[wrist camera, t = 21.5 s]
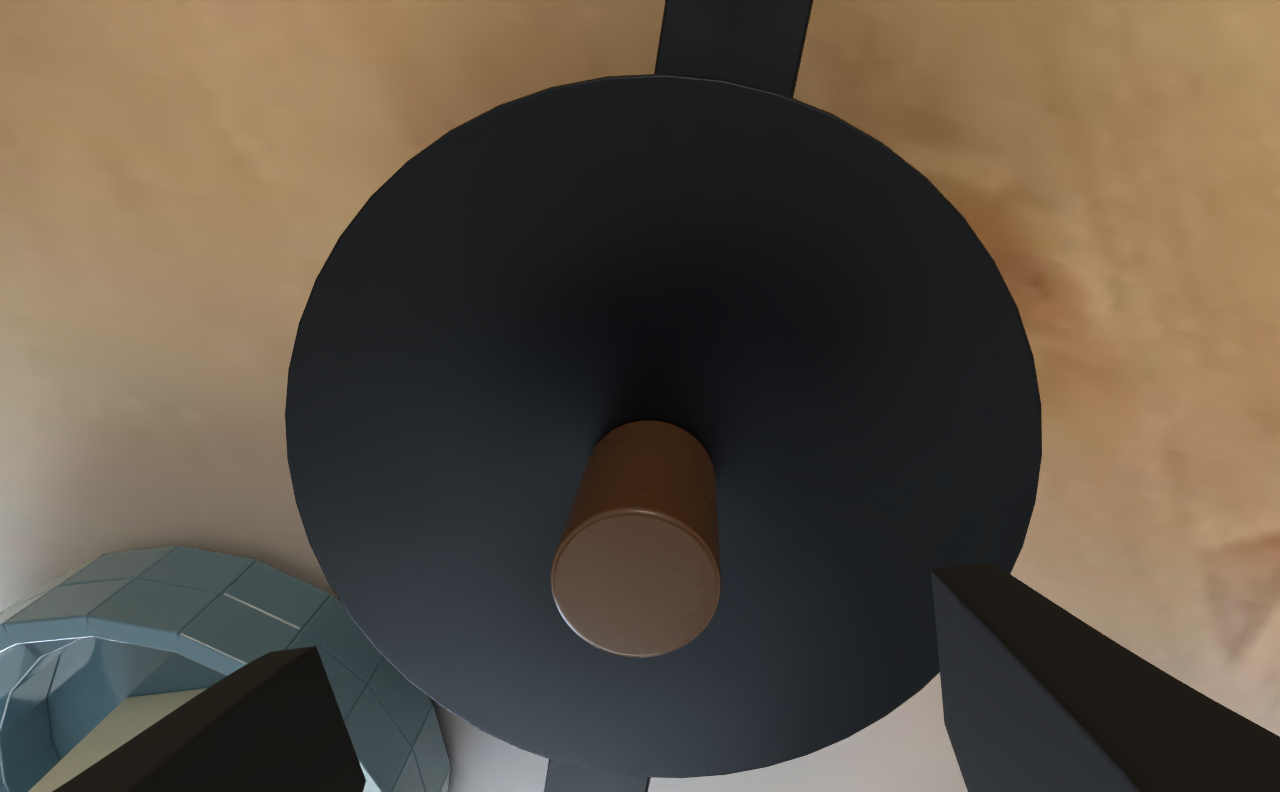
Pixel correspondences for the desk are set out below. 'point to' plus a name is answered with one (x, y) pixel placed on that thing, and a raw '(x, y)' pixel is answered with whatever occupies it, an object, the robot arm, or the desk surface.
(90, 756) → the tofu
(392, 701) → the dish
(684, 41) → the pan
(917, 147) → the desk surface
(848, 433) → the pan lid
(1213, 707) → the robot arm
